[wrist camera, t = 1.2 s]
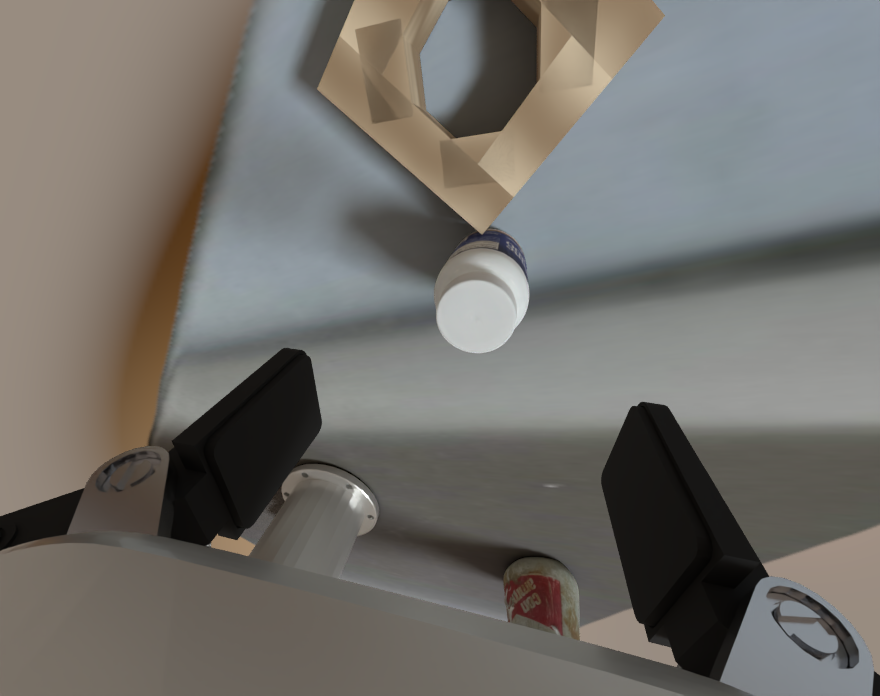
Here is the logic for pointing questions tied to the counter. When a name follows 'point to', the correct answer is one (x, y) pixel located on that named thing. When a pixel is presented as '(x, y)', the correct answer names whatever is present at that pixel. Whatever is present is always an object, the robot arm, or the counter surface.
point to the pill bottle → (482, 292)
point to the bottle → (542, 596)
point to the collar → (531, 127)
